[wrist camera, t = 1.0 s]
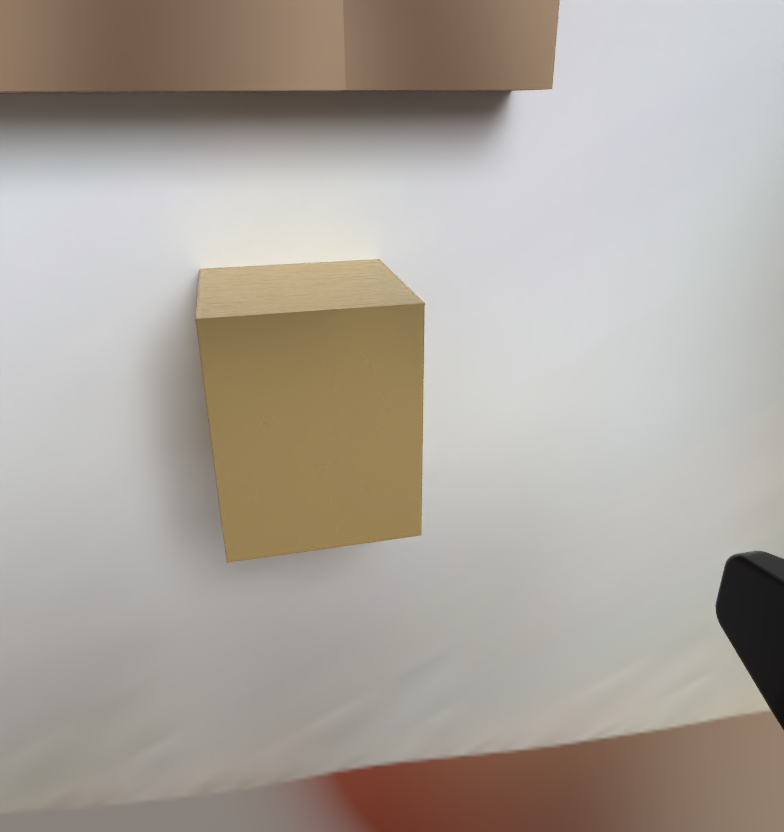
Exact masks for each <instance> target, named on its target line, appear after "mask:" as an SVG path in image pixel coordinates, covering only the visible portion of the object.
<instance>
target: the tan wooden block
mask: <svg viewBox="0 0 784 832" xmlns="http://www.w3.org/2000/svg"><path fill="white" fill-rule="evenodd" d="M424 305H425V303H424V302H423V301H422V300H421V299H420V298H419V297H418V296H417V295H416V294H415V293H414V292H413V291H412V290H410V289H409V288H408V287H407V286H406V285H405V284H404V283H403V282H402V281H401V280H400V279H399V278H398V277H397V276H396V275H395V274H394V273H393V272H392V271H391V270H390V269H389V268H388V267H387V266H386V265H385V264H384V263H383V262H382V261H381V260H379V259H374V260H355V261H337V262H318V263H300V264H281V265H262V266H244V267H225V268H207V269H200V275H199V287H198V298H197V309H196V325H197V333H198V341H199V349H200V357H201V364H202V372H203V380H204V388H205V396H206V403H207V411H208V419H209V427H210V435H211V442H212V450H213V458H214V466H215V474H216V482H217V489H218V497H219V505H220V513H221V521H222V528H223V536H224V544H225V552H226V560H227V562H233V561H240V560H247V559H255V558H262V557H269V556H276V555H283V554H290V553H298V552H305V551H312V550H319V549H326V548H333V547H341V546H348V545H355V544H362V543H369V542H376V541H384V540H391V539H398V538H405V537H412V536H419V535H421V516H422V445H423V375H424Z"/></svg>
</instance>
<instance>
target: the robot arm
mask: <svg viewBox="0 0 784 832" xmlns="http://www.w3.org/2000/svg"><path fill="white" fill-rule="evenodd" d="M716 614H717V618H718V621H719V623H720V625H721V627H722V629H723V630H724V632H725V634H726V635H727V637H728V639H729V640H730V642H731V644H732V645H733V647H734V649H735V650H736V652H737V654H738V655H739V657H740V659H741V661H742V662H743V664H744V666H745V667H746V669H747V671H748V672H749V674H750V676H751V677H752V679H753V681H754V682H755V684H756V686H757V687H758V689H759V691H760V692H761V694H762V696H763V697H764V699H765V701H766V702H767V704H768V706H769V707H770V709H771V711H772V712H773V714H774V716H775V717H776V719H777V720H778V722H779V723H780V725H781V726H782V728H783V730H784V559H782V558H780V557H777V556H774V555H772V554H769V553H767V552H763V551H752V552H746V553H739V554H734V555H732V556H730V558H729V559H728V560H727V561H726V564H725V567H724V571H723V575H722V580H721V584H720V588H719V592H718V597H717V601H716Z"/></svg>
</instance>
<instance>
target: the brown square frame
mask: <svg viewBox="0 0 784 832" xmlns="http://www.w3.org/2000/svg"><path fill="white" fill-rule="evenodd" d="M558 10H559V0H0V93H45V92H294V91H516V90H543V89H552V84H553V72H554V59H555V47H556V35H557V23H558Z"/></svg>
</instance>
